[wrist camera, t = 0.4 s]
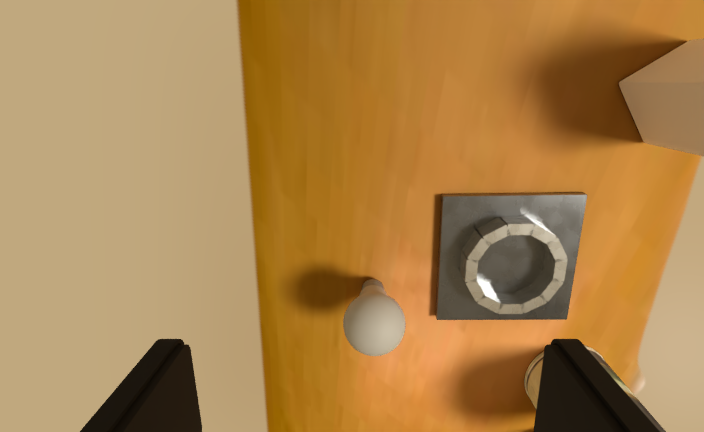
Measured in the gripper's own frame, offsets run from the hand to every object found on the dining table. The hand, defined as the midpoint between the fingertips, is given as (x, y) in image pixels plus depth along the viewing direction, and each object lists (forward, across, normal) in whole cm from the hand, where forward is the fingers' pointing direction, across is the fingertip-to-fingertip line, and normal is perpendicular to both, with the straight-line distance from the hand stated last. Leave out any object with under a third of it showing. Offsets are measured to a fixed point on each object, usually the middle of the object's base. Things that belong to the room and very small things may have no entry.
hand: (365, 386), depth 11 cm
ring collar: (+35, -16, +11) cm, 40 cm away
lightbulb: (+35, -1, +14) cm, 38 cm away
